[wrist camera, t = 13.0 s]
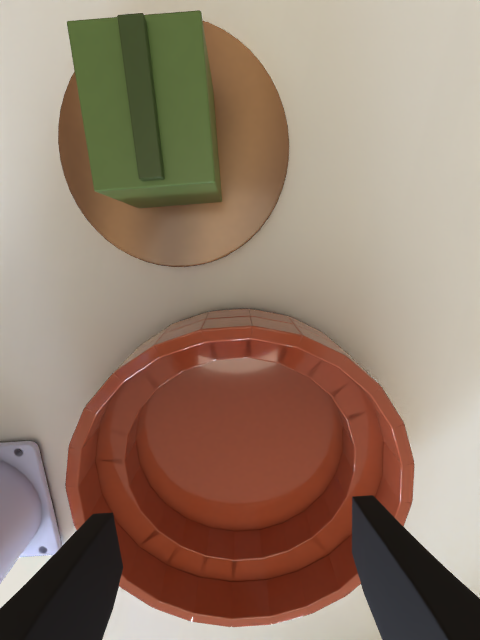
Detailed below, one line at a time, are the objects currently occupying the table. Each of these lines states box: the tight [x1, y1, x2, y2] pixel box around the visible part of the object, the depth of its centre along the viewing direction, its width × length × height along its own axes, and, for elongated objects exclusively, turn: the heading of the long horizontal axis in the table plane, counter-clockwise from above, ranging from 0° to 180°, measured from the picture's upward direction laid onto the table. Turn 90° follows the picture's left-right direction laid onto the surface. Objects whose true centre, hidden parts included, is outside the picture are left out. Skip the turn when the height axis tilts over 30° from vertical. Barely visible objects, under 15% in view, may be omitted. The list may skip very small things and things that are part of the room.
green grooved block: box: [67, 11, 222, 208], centre depth 13 cm, size 4×5×5 cm
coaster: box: [58, 21, 289, 267], centre depth 16 cm, size 11×11×1 cm
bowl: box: [65, 309, 414, 627], centre depth 17 cm, size 16×16×4 cm
